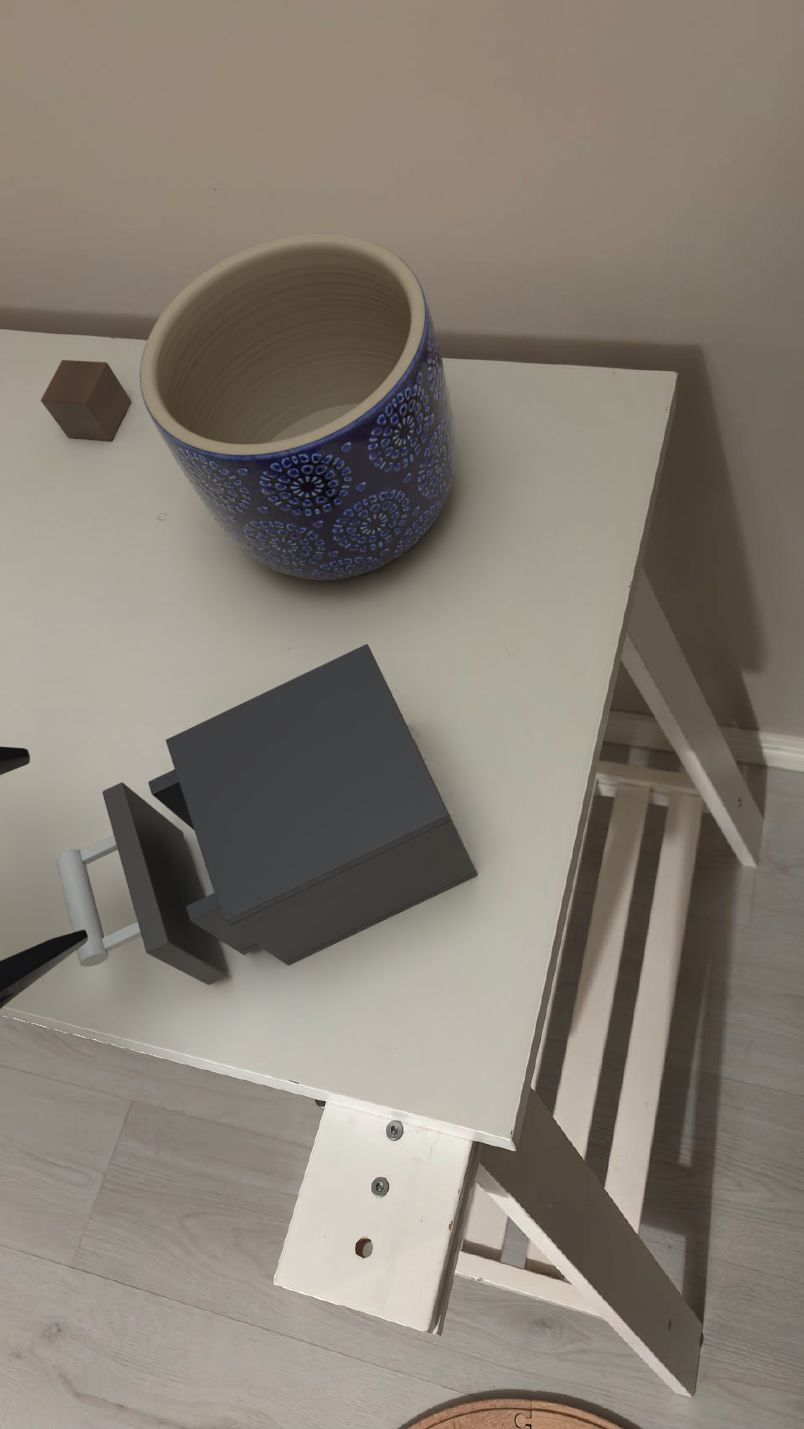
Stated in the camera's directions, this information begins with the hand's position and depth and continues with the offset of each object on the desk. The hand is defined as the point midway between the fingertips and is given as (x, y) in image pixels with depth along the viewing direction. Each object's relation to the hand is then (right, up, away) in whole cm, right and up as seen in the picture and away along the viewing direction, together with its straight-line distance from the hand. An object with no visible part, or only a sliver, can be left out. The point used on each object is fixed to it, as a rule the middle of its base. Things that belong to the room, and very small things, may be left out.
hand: (57, 842), depth 46 cm
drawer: (+7, -4, +9) cm, 12 cm away
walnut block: (-7, +29, +30) cm, 42 cm away
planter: (+12, +20, +21) cm, 31 cm away
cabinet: (+13, -1, +10) cm, 17 cm away
